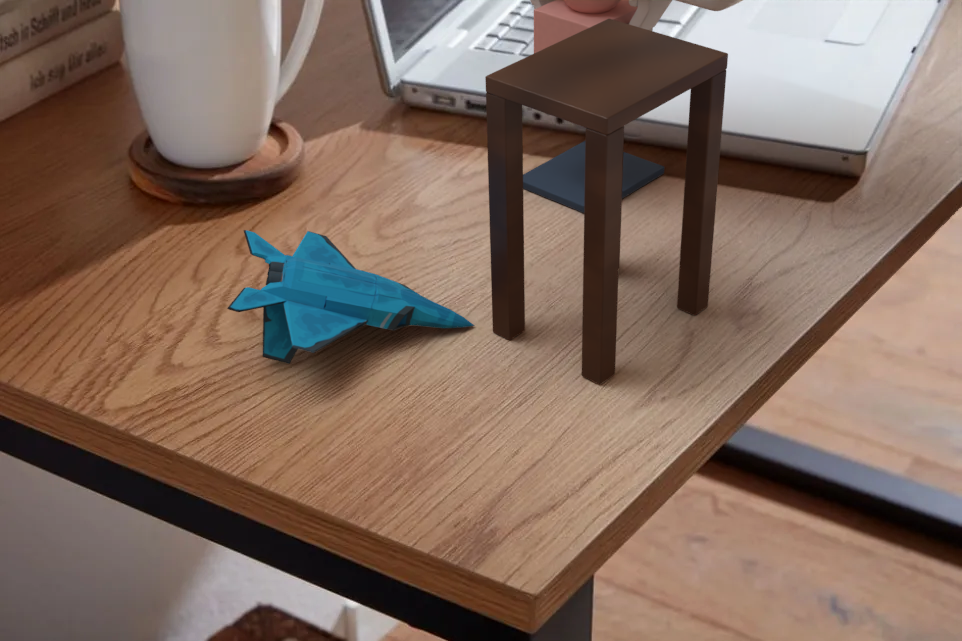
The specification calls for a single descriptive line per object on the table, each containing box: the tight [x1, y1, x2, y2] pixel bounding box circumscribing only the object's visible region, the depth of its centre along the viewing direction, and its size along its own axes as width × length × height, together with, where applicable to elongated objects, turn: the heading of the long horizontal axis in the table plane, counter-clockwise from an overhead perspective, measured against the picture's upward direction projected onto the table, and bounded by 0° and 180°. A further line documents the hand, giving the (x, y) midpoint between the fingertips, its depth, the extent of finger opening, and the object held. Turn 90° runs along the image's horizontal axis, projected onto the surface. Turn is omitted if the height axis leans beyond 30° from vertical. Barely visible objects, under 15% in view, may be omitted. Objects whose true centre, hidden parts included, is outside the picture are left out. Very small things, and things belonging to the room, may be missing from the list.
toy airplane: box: [226, 229, 475, 365], centre depth 68 cm, size 12×10×4 cm
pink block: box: [533, 0, 638, 54], centre depth 76 cm, size 4×5×10 cm
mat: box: [523, 140, 666, 214], centre depth 81 cm, size 6×7×1 cm
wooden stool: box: [484, 19, 729, 385], centre depth 65 cm, size 7×9×14 cm
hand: (590, 45), depth 77 cm, fingers closed on pink block, 4 cm apart
